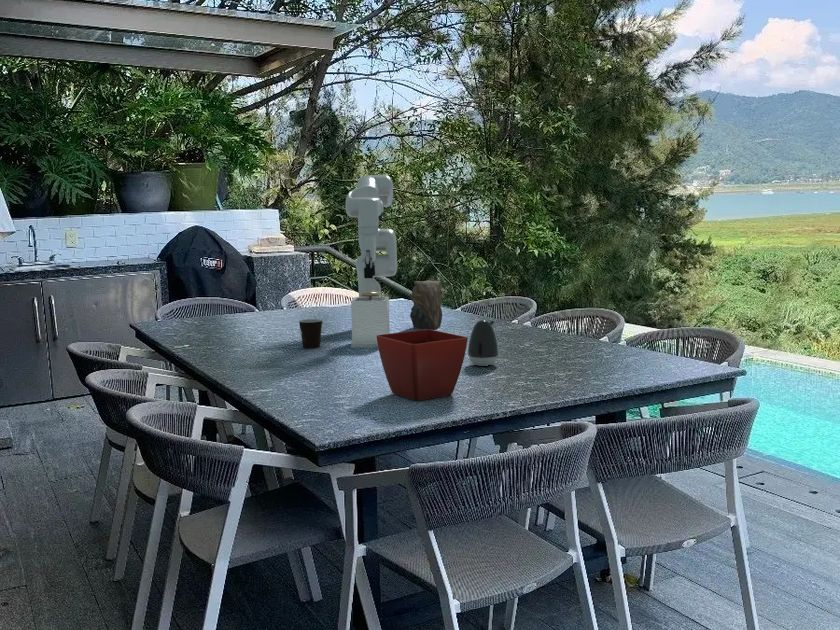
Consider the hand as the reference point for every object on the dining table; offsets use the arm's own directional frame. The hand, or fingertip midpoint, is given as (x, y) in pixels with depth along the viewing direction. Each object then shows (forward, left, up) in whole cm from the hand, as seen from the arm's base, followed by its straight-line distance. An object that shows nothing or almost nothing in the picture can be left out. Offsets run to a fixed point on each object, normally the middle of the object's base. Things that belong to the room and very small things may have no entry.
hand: (369, 276), depth 325 cm
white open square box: (0, 0, -26) cm, 26 cm away
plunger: (0, 0, -23) cm, 23 cm away
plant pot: (+85, +22, -26) cm, 92 cm away
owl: (-42, +21, -26) cm, 53 cm away
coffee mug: (+3, -22, -26) cm, 34 cm away
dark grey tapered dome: (+43, +41, -26) cm, 65 cm away
